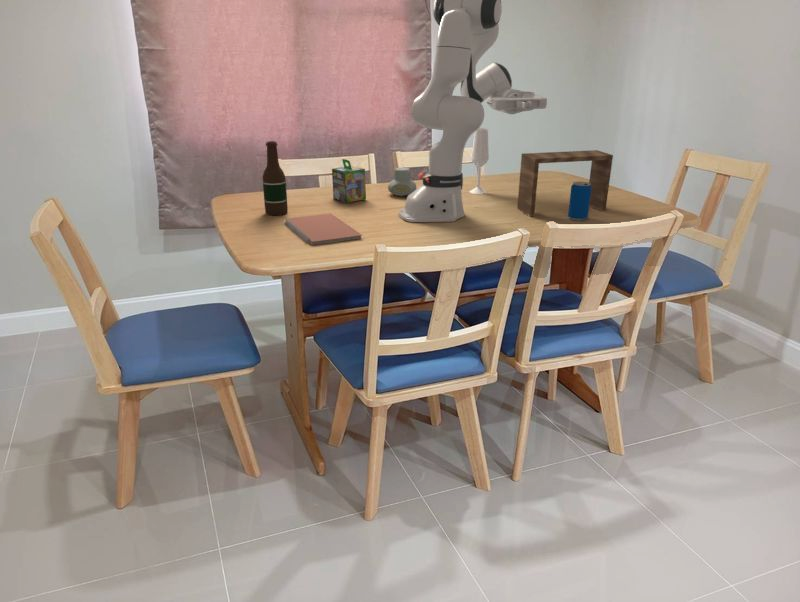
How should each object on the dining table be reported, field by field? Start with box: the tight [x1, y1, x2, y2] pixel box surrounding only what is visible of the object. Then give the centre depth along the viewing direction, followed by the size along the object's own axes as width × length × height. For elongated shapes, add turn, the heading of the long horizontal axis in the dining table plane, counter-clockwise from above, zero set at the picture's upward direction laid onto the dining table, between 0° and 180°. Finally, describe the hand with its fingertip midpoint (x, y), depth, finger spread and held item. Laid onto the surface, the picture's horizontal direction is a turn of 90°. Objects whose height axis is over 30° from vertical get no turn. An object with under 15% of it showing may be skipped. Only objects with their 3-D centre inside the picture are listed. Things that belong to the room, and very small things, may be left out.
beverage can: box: [567, 180, 592, 222], centre depth 209 cm, size 6×6×12 cm
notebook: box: [284, 213, 363, 246], centre depth 197 cm, size 27×17×2 cm, turn 26°
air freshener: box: [387, 166, 418, 198], centre depth 239 cm, size 11×8×10 cm
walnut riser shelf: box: [516, 149, 614, 217], centre depth 217 cm, size 29×10×20 cm, turn 106°
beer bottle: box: [262, 140, 289, 217], centre depth 211 cm, size 8×8×24 cm
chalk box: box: [331, 158, 367, 204], centre depth 231 cm, size 9×9×15 cm
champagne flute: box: [469, 127, 490, 195], centre depth 241 cm, size 7×7×24 cm
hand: (528, 105), depth 220 cm, fingers closed
